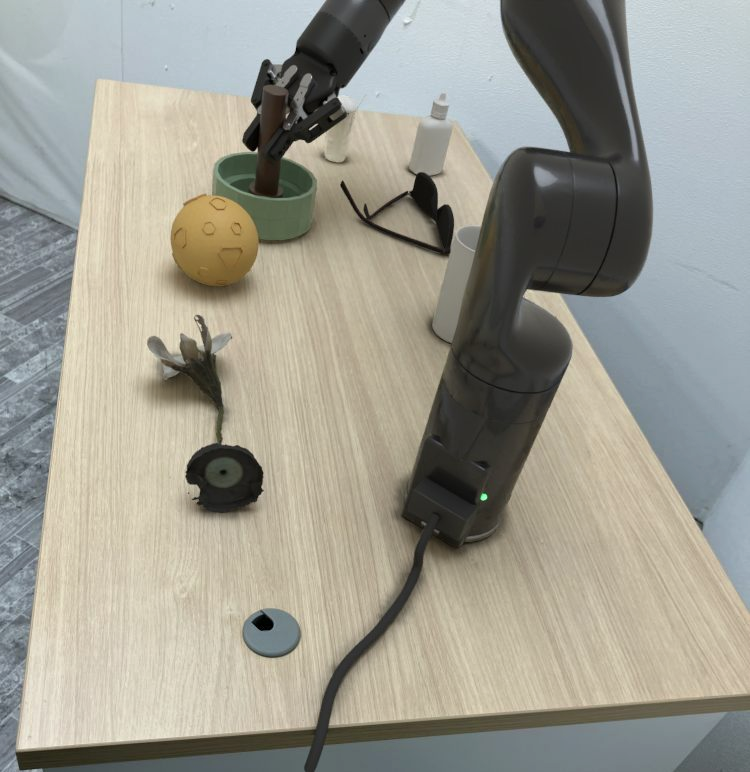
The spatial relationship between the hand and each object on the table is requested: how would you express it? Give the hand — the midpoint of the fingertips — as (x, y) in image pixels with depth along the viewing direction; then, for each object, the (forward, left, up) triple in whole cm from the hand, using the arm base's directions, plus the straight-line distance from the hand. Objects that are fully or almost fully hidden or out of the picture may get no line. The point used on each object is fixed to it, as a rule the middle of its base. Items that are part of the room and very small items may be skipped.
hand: (257, 152), depth 98 cm
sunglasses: (+18, -11, -11) cm, 23 cm away
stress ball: (-13, -5, -11) cm, 17 cm away
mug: (+3, -30, -11) cm, 32 cm away
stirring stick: (+2, 0, -7) cm, 7 cm away
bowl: (+4, +1, -10) cm, 11 cm away
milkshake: (+29, +6, -11) cm, 31 cm away
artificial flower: (-33, -21, -11) cm, 41 cm away
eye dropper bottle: (+38, -5, -11) cm, 40 cm away
